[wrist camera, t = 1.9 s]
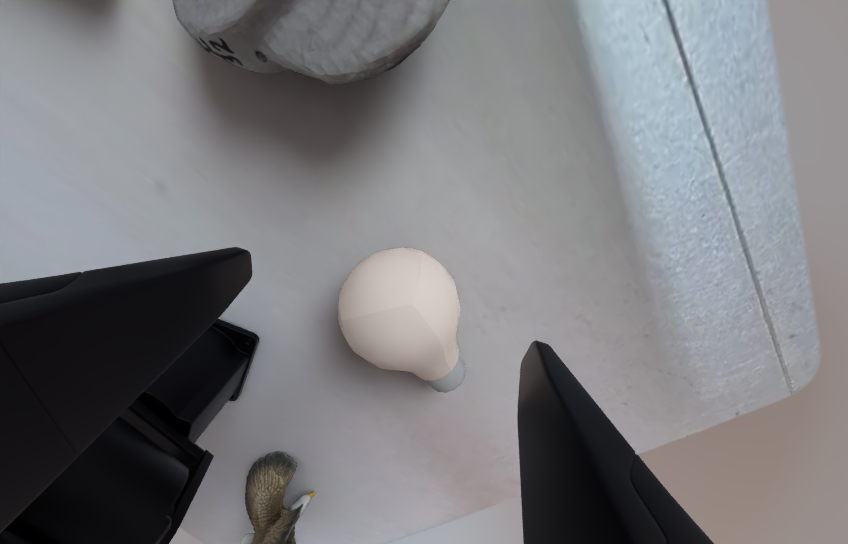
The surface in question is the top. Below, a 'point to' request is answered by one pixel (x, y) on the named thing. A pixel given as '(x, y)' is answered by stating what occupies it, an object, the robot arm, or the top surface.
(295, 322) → the top surface
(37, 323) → the robot arm
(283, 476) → the eagle figurine
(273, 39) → the seashell
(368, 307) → the light bulb
